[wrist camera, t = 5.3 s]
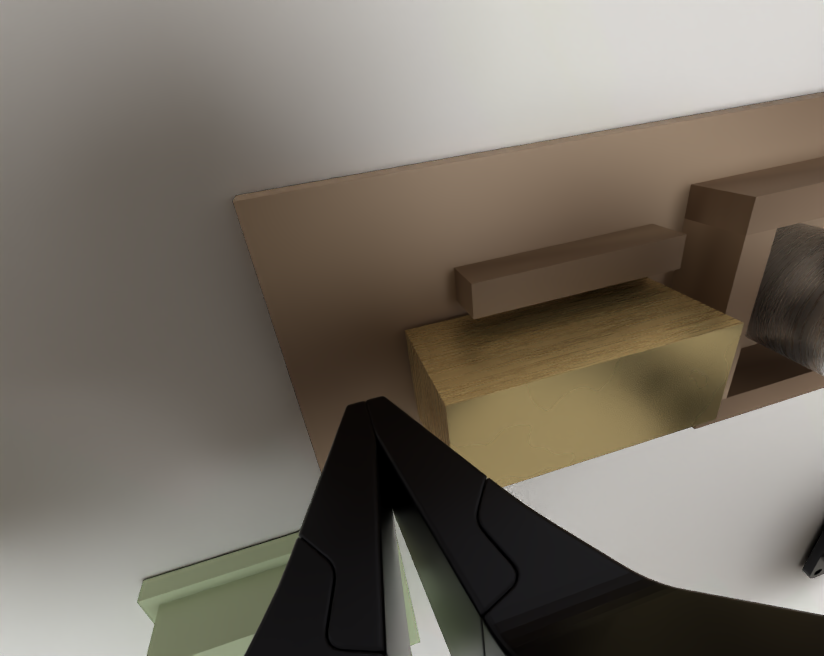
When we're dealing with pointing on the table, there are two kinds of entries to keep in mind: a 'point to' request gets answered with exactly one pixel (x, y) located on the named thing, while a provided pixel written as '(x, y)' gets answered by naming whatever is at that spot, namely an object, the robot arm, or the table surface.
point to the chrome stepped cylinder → (793, 297)
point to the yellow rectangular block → (571, 376)
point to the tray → (223, 601)
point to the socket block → (533, 244)
